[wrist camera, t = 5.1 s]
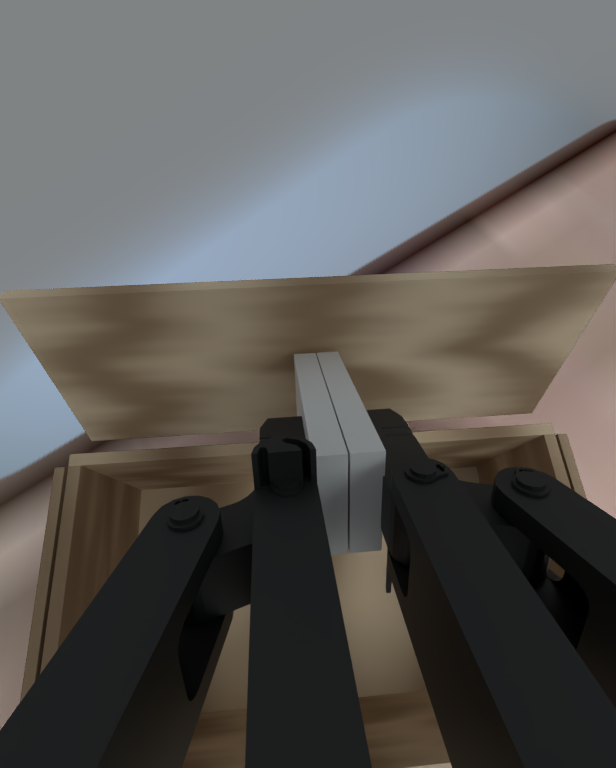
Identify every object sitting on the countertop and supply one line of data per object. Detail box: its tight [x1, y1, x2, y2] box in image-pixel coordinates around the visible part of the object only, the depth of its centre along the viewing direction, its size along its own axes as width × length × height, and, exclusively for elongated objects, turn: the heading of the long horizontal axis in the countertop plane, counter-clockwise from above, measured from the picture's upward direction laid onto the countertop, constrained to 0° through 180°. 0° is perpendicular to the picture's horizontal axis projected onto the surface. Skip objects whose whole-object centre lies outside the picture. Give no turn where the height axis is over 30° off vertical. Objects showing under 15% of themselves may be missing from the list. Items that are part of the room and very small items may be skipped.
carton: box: [20, 423, 587, 768], centre depth 18 cm, size 22×19×8 cm
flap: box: [0, 264, 616, 441], centre depth 16 cm, size 19×1×7 cm, turn 94°
